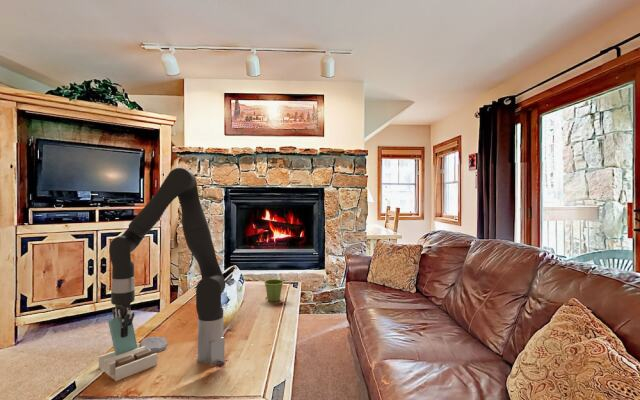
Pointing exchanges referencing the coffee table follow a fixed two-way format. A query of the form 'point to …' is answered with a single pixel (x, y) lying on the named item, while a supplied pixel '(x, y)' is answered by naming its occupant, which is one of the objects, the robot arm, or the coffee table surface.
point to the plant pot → (273, 289)
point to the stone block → (154, 343)
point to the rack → (128, 369)
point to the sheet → (121, 343)
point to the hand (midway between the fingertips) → (122, 335)
